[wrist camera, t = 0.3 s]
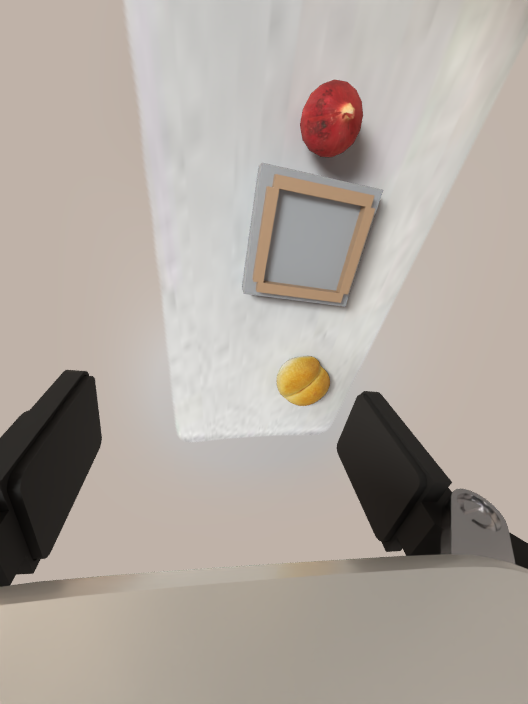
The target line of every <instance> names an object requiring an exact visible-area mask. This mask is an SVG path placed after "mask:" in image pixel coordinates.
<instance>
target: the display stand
mask: <svg viewBox="0 0 528 704" xmlns="http://www.w3.org/2000/svg"><path fill="white" fill-rule="evenodd" d="M382 192H383V190H381V189H376V188H372V187H368V186H363V185H359V184H354V183H350V182H345V181H341V180H337V179H332V178H328V177H323V176H319V175H314V174H310V173H305V172H301V171H297V170H292V169H288V168H283V167H279V166H274V165H270V164H266V163H261V164H260V165H259V168H258V175H257V183H256V190H255V197H254V204H253V212H252V219H251V226H250V233H249V240H248V248H247V255H246V262H245V269H244V277H243V284H242V289H243V293H244V294H250V295H258V296H265V297H273V298H281V299H289V300H297V301H305V302H313V303H320V304H328V305H336V306H344V307H345V306H346V303H347V300H348V297H349V294H350V291H351V288H352V285H353V282H354V278H355V275H356V272H357V269H358V266H359V263H360V260H361V257H362V254H363V251H364V248H365V245H366V241H367V238H368V235H369V232H370V229H371V226H372V223H373V220H374V217H375V214H376V211H377V208H378V204H379V201H380V198H381V195H382Z"/></svg>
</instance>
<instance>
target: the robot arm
mask: <svg viewBox="0 0 528 704" xmlns="http://www.w3.org/2000/svg"><path fill="white" fill-rule="evenodd" d="M101 440H102V436H101V427H100V419H99V410H98V402H97V394H96V385H95V378H94V377H93V376H89V374H88V372H86V371H75V370H65V371H64V372H63V373H62V374H61V375H60V377H59V378H58V379H57V380H56V381H55V382H54V383H53V385H52V386H51V387H50V388H49V389H48V390H47V391H46V392H45V393H44V395H43V396H42V397H41V398H40V399H39V400H38V401H37V403H36V404H35V405H34V406H33V407H32V409H30V411H26V412H24V413H23V414H22V415H21V416H19V418H18V419H17V420H16V421H15V422H14V423H13V425H12V426H11V427H10V428H9V429H8V430H7V431H6V432H5V433H4V434H3V436H2V437H1V438H0V704H528V543H526V542H524V541H523V540H521V539H520V538H518V537H516V536H515V535H513V534H511V533H509V530H508V526H507V523H506V521H505V519H504V517H503V516H502V515H501V513H500V512H499V511H498V510H497V509H496V508H495V507H494V506H493V505H492V504H491V503H490V502H489V501H487V500H486V499H485V498H483V497H482V496H480V495H478V494H477V493H474V492H472V491H469V490H466V489H456V490H454V491H453V492H451V491H450V489H449V488H448V487H449V486H450V484H451V483H452V482H451V480H450V479H449V478H448V477H447V476H446V474H445V473H444V472H443V471H442V469H441V468H440V467H439V466H438V464H437V463H436V462H435V461H434V459H433V458H432V457H431V456H430V455H429V453H428V452H427V451H426V450H425V448H424V447H423V446H422V445H421V443H420V442H419V441H418V440H417V438H416V437H415V436H414V435H413V434H412V432H411V431H410V430H409V428H408V427H407V426H406V425H405V423H404V422H403V421H402V420H401V418H400V417H399V416H398V415H397V413H396V412H395V411H394V410H393V408H392V407H391V406H390V405H389V403H388V402H387V401H386V400H385V399H384V397H383V396H382V395H381V394H380V393H379V392H368V391H364V392H363V393H361V395H358V396H357V398H356V401H355V403H354V405H353V408H352V410H351V412H350V415H349V417H348V420H347V422H346V424H345V427H344V429H343V431H342V434H341V436H340V438H339V441H338V443H337V452H338V455H339V457H340V459H341V461H342V463H343V466H344V468H345V470H346V472H347V475H348V477H349V479H350V481H351V483H352V486H353V488H354V490H355V492H356V494H357V496H358V499H359V501H360V503H361V505H362V508H363V510H364V512H365V514H366V516H367V519H368V521H369V523H370V525H371V527H372V529H373V532H374V534H375V536H376V538H377V539H378V540H379V541H381V542H382V544H383V546H384V548H385V551H386V552H390V551H401V550H402V548H403V550H404V552H405V554H406V556H397V557H380V558H363V559H346V560H329V561H314V562H299V563H282V564H267V565H251V566H236V567H222V568H207V569H193V570H179V571H164V572H151V573H138V574H123V575H110V576H98V577H87V578H75V579H64V580H53V581H41V582H33V583H26V584H18V585H11V583H12V581H13V579H14V577H15V575H16V574H32V573H34V571H35V569H36V567H37V565H38V563H39V561H40V559H45V558H47V557H48V555H49V554H50V552H51V550H52V548H53V546H54V544H55V542H56V540H57V538H58V536H59V533H60V531H61V529H62V527H63V525H64V523H65V521H66V519H67V516H68V514H69V512H70V510H71V508H72V506H73V504H74V502H75V499H76V497H77V495H78V493H79V491H80V489H81V487H82V485H83V482H84V480H85V478H86V476H87V474H88V472H89V470H90V468H91V465H92V463H93V461H94V459H95V457H96V455H97V452H98V450H99V448H100V445H101Z"/></svg>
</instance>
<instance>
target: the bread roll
mask: <svg viewBox="0 0 528 704" xmlns="http://www.w3.org/2000/svg"><path fill="white" fill-rule="evenodd" d="M329 386H330V379H329V375H328V373H327V372H326V371H325V370H324V369H323V368H322V367H321V366H320V363H319V361H318V360H317V359H316V358H314V357H312V356H303V357H296V358H292V359H290V360H288V361H287V362H285V363H284V365H283V366H282V367H281V368H280V370H279V372H278V375H277V387H278V391H279V392H280V394H281V395H282V396H283V397H284V398H286V399H287V400H288V401H289V402H291V403H293V404H295V405H299V406H306V405H311V404H313V403H315V402H317V401H318V400H319V399H321V398H322V397H323V396H324V395H325V394H326V393H327V391H328V389H329Z"/></svg>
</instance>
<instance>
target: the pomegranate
mask: <svg viewBox="0 0 528 704" xmlns="http://www.w3.org/2000/svg"><path fill="white" fill-rule="evenodd" d="M362 117H363V110H362V101H361V99H360V97H359V95H358V93H357V90H356V89H355V88H354V87H352V86H351V85H350V84H349V83H348V82H345V81H340V80H332V81H329V82H327V83H324V84H322V85H320V86H319V87H318V88H317V89H316V90H315V91H314V92H312V93H311V95H310V97H309V99H308V100H307V102H306V104H305V106H304V108H303V112H302V117H301V123H300V128H301V133H302V139H303V141H304V143H305V144H306V146H307V147H308V149H309V150H310V151H312V152H313V153H315V154H317V155H319V156H320V157H333V156H336V155H338V154H340V153H342V152H344V151H345V150H346V149H347V148H349V147H350V146H351V145H352V144H353V143H354V141H355V139H356V137H357V135H358V133H359V131H360V129H361V123H362Z"/></svg>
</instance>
